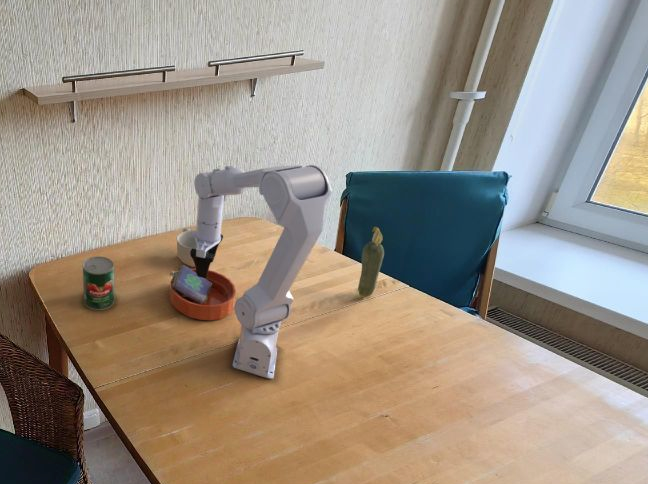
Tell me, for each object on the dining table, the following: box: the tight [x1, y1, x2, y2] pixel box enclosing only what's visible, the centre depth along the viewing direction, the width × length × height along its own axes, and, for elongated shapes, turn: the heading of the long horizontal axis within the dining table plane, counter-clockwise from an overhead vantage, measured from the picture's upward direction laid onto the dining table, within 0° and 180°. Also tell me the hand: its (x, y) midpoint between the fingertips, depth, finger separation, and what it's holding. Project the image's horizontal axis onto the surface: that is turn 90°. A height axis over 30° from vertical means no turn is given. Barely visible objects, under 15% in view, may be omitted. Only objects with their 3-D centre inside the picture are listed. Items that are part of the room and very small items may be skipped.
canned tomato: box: [81, 256, 115, 311], centre depth 109 cm, size 8×8×11 cm
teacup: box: [176, 227, 197, 268], centre depth 127 cm, size 14×11×8 cm
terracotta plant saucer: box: [169, 268, 237, 321], centre depth 109 cm, size 16×16×4 cm
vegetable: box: [357, 226, 385, 298], centre depth 105 cm, size 4×4×20 cm
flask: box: [169, 264, 212, 305], centre depth 110 cm, size 9×3×11 cm
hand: (205, 268), depth 106 cm, fingers open, 7 cm apart
